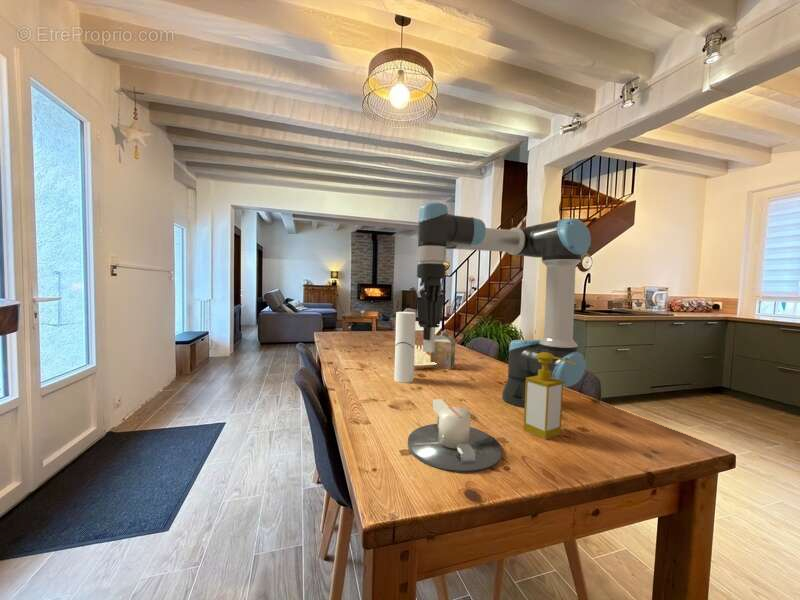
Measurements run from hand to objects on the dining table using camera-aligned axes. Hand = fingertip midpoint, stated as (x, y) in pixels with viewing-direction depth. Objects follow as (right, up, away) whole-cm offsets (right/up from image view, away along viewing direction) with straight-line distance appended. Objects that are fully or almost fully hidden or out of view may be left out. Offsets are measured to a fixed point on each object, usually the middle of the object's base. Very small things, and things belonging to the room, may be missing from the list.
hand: (428, 351), depth 88 cm
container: (-6, -22, +57) cm, 62 cm away
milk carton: (+15, -21, +84) cm, 88 cm away
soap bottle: (+35, -25, +6) cm, 44 cm away
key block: (+6, -23, 0) cm, 24 cm away
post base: (+6, -24, -2) cm, 25 cm away
